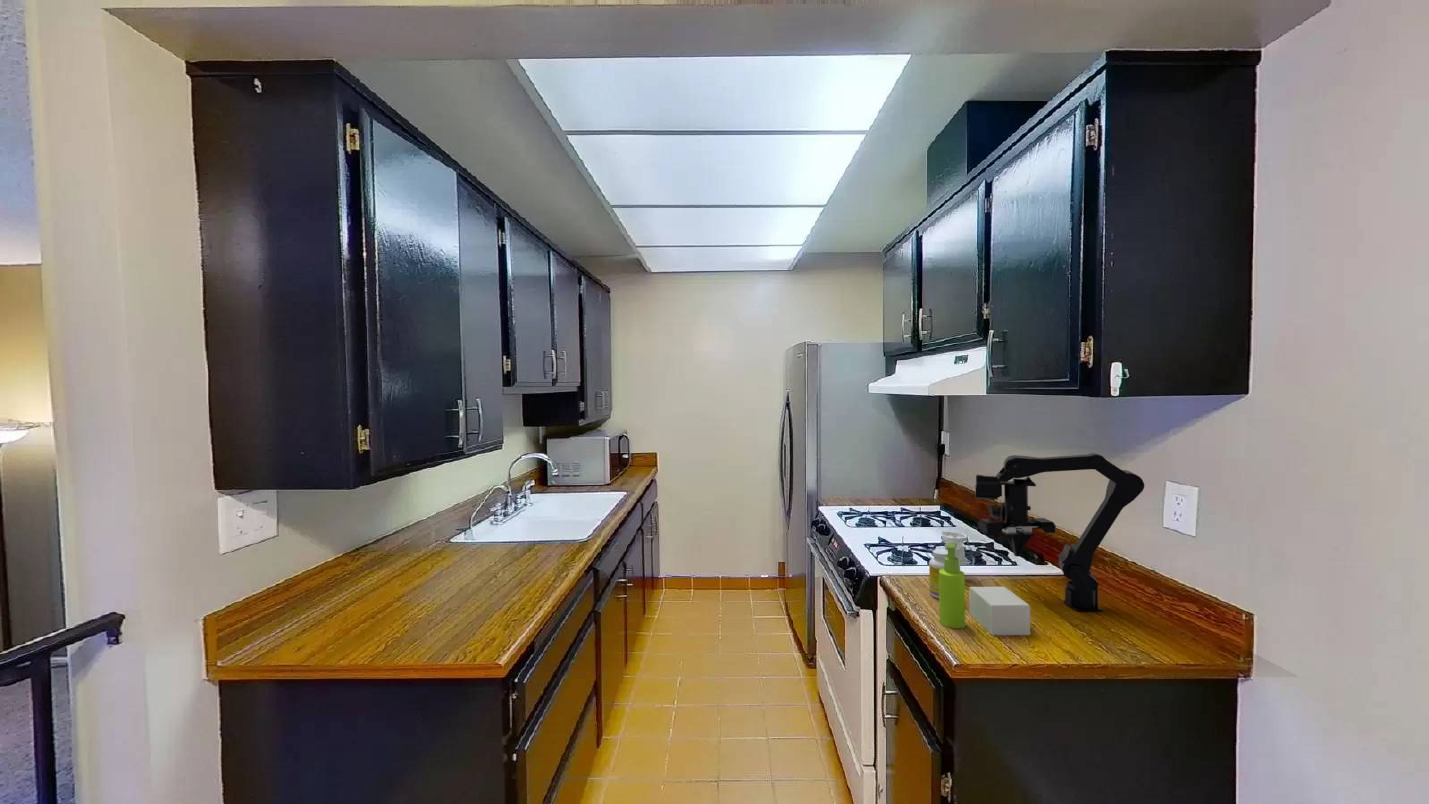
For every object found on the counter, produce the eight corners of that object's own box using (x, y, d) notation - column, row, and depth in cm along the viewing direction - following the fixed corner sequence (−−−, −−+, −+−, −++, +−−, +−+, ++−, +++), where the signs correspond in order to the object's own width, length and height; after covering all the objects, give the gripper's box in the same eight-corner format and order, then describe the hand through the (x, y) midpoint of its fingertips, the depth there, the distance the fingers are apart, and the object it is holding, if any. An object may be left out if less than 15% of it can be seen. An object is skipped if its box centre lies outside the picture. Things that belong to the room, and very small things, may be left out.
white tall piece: (943, 574, 167) (942, 527, 166) (967, 577, 164) (967, 529, 163) (941, 581, 160) (941, 533, 160) (967, 584, 157) (966, 535, 157)
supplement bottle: (940, 602, 145) (939, 556, 145) (924, 593, 152) (923, 549, 151) (960, 598, 147) (959, 553, 147) (943, 590, 154) (943, 547, 153)
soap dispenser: (966, 619, 134) (965, 542, 134) (963, 630, 128) (962, 549, 128) (941, 614, 137) (940, 539, 137) (938, 625, 131) (937, 546, 131)
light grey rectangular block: (1004, 613, 137) (1004, 586, 137) (1030, 635, 125) (1029, 605, 125) (969, 613, 137) (969, 586, 137) (992, 635, 125) (991, 605, 125)
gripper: (1033, 494, 154) (1034, 547, 154) (969, 495, 154) (970, 547, 155) (1056, 502, 142) (1057, 559, 143) (987, 503, 143) (988, 559, 144)
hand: (1016, 556), depth 146 cm, fingers closed
